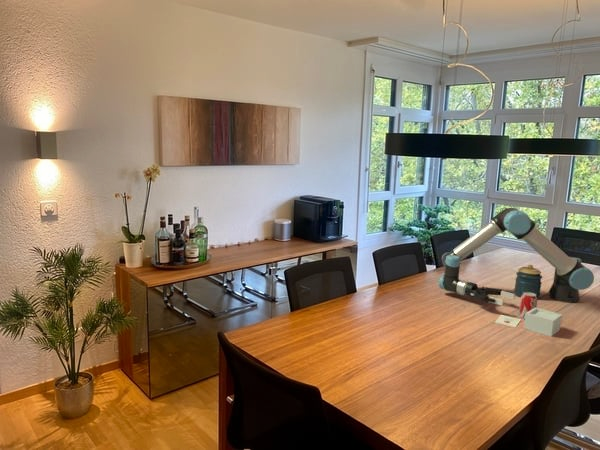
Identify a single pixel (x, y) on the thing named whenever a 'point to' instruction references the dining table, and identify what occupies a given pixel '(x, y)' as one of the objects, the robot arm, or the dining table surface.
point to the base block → (542, 321)
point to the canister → (528, 281)
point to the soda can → (527, 303)
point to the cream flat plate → (508, 321)
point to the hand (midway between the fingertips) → (508, 299)
